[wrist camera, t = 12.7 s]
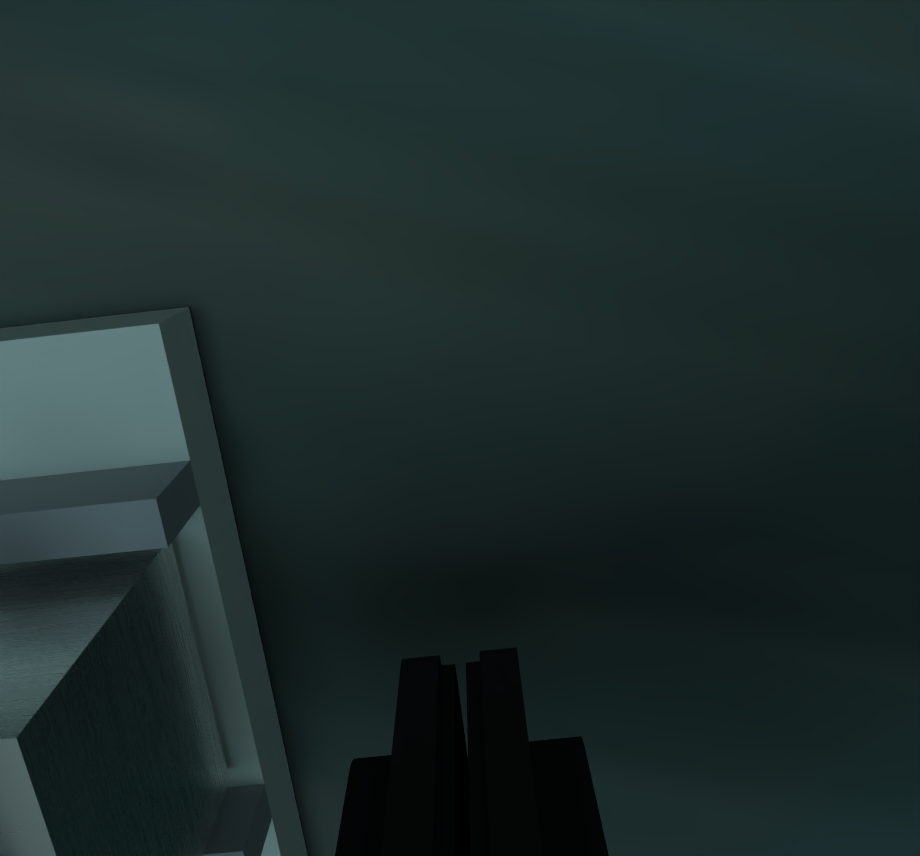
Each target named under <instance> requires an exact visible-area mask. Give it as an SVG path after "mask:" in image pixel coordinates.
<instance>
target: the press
mask: <svg viewBox="0 0 920 856" xmlns="http://www.w3.org/2000/svg"><path fill="white" fill-rule="evenodd" d="M171 543H172V545H173V550H174V554H175V558H176V562H177V566H178V570H179V574H180V578H181V582H182V586H183V590H184V594H185V599H186V603H187V607H188V611H189V615H190V619H191V623H192V627H193V631H194V635H195V639H196V644H197V648H198V652H199V656H200V660H201V664H202V668H203V672H204V676H205V680H206V684H207V688H208V693H209V697H210V701H211V705H212V709H213V713H214V717H215V721H216V725H217V729H218V733H219V737H220V742H221V746H222V750H223V754H224V758H225V762H226V766H227V770H228V774H229V778H230V782H229V785H228V787H227V790H226V793H225V795H224V798H223V801H222V803H221V806H220V809H219V812H218V814H217V817H216V820H215V822H214V825H213V828H212V830H211V833H210V836H209V838H208V841H207V844H206V846H205V849H204V852H203V854H202V856H308V855H307V850H306V846H305V841H304V836H303V832H302V827H301V823H300V818H299V813H298V809H297V804H296V800H295V795H294V790H293V786H292V781H291V776H290V772H289V767H288V763H287V758H286V753H285V749H284V744H283V739H282V735H281V730H280V726H279V721H278V716H277V712H276V707H275V702H274V698H273V693H272V689H271V684H270V679H269V675H268V670H267V665H266V661H265V656H264V652H263V647H262V642H261V638H260V633H259V628H258V624H257V619H256V615H255V610H254V605H253V601H252V596H251V591H250V587H249V582H248V578H247V573H246V568H245V564H244V559H243V555H242V550H241V545H240V541H239V536H238V531H237V527H236V522H235V518H234V513H233V508H232V504H231V499H230V494H229V490H228V485H227V481H226V476H225V471H224V467H223V462H222V457H221V453H220V448H219V444H218V439H217V434H216V430H215V425H214V420H213V416H212V411H211V407H210V402H209V397H208V393H207V388H206V383H205V379H204V374H203V370H202V365H201V360H200V356H199V351H198V347H197V342H196V337H195V333H194V328H193V323H192V319H191V314H190V310H189V307H183V308H174V309H166V310H157V311H148V312H139V313H130V314H121V315H113V316H104V317H95V318H86V319H77V320H68V321H59V322H51V323H42V324H33V325H24V326H15V327H6V328H0V565H2V564H12V563H22V562H31V561H41V560H51V559H61V558H71V557H81V556H90V555H100V554H110V553H120V552H130V551H140V550H149V549H159V548H168V547H169V546H170V544H171Z"/></svg>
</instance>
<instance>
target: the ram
mask: <svg viewBox="0 0 920 856" xmlns="http://www.w3.org/2000/svg"><path fill="white" fill-rule="evenodd" d="M229 782H230V778H229V774H228V770H227V766H226V762H225V758H224V754H223V750H222V746H221V742H220V737H219V733H218V729H217V725H216V721H215V717H214V713H213V709H212V705H211V701H210V697H209V693H208V688H207V684H206V680H205V676H204V672H203V668H202V664H201V660H200V656H199V652H198V648H197V644H196V639H195V635H194V631H193V627H192V623H191V619H190V615H189V611H188V607H187V603H186V599H185V594H184V590H183V586H182V582H181V578H180V574H179V570H178V566H177V562H176V558H175V554H174V550H173V545H172V543H171V544H170V546H169V547H168V548H159V549H149V550H140V551H130V552H120V553H110V554H100V555H90V556H81V557H71V558H61V559H51V560H41V561H31V562H22V563H12V564H2V565H0V856H202V854H203V852H204V849H205V846H206V844H207V841H208V838H209V836H210V833H211V830H212V828H213V825H214V822H215V820H216V817H217V814H218V812H219V809H220V806H221V803H222V801H223V798H224V795H225V793H226V790H227V787H228V785H229Z"/></svg>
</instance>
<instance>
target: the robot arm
mask: <svg viewBox="0 0 920 856" xmlns="http://www.w3.org/2000/svg"><path fill="white" fill-rule="evenodd" d="M466 681H467V722H468V757H467V749H466V742H465V734H464V727H463V719H462V712H461V704H460V697H459V689H458V682H457V674H456V668H455V664H450V665H441V660H440V656H439V655H438V656H428V657H418V658H408V659H402V662H401V669H400V679H399V688H398V698H397V708H396V717H395V727H394V737H393V746H392V755H387V756H377V757H367V758H357V759H354V760H353V761H352V763H351V767H350V771H349V777H348V783H347V789H346V794H345V800H344V806H343V812H342V818H341V824H340V830H339V836H338V842H337V848H336V853H335V856H609V855H608V850H607V846H606V841H605V837H604V832H603V828H602V823H601V819H600V814H599V810H598V805H597V801H596V796H595V792H594V787H593V783H592V778H591V774H590V769H589V765H588V760H587V756H586V751H585V747H584V743H583V739H582V737H581V736H580V737H570V738H560V739H550V740H540V741H530V742H529V741H528V733H527V725H526V717H525V709H524V702H523V694H522V686H521V678H520V670H519V662H518V655H517V648H506V649H497V650H487V651H480V662H470V663H466Z"/></svg>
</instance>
